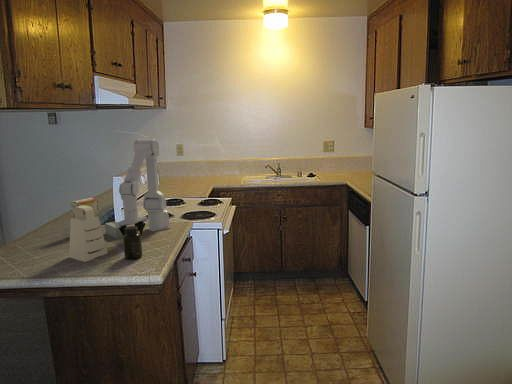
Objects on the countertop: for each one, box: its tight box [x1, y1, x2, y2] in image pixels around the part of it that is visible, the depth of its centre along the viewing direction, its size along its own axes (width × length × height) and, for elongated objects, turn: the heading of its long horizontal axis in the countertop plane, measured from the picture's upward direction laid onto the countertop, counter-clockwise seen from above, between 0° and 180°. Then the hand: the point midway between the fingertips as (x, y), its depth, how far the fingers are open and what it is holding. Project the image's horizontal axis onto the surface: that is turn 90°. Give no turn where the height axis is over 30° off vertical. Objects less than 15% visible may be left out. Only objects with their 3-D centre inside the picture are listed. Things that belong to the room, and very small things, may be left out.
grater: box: [68, 205, 108, 263], centre depth 171 cm, size 10×10×20 cm
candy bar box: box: [70, 197, 100, 230], centre depth 203 cm, size 11×5×16 cm, turn 149°
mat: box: [103, 233, 151, 248], centre depth 195 cm, size 13×26×1 cm, turn 42°
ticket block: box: [104, 221, 123, 239], centre depth 199 cm, size 5×12×5 cm, turn 41°
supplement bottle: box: [123, 225, 143, 261], centre depth 168 cm, size 7×7×12 cm
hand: (133, 240), depth 186 cm, fingers closed on stub, 5 cm apart
